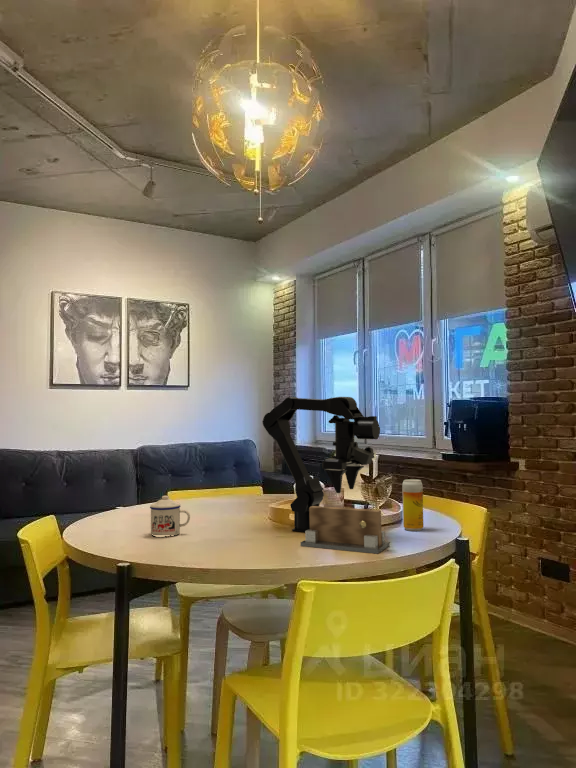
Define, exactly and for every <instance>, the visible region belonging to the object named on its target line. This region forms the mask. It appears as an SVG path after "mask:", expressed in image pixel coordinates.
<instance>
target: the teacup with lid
mask: <svg viewBox="0 0 576 768" xmlns="http://www.w3.org/2000/svg"><path fill="white" fill-rule="evenodd" d="M180 508H181V504H180V503H179V502H177V501H174V500H173V499H170V497H169V496H168V495H162V496H161V499H159V500H157V501H156V502H154V503H151V504H150V507H149V509H150V535H151V534H153V535H177V534H179V533H181V528H182V527H186V526H187V525H188V524H189V523H190V520H191V514H190V512H189V511H188V510H186V509H180ZM181 513H184V514H186V515H187V520H186V521H185V522H184V523H181V522H180V521H181V520H180V519H181ZM179 535H180V534H179ZM177 536H178V535H177Z"/></svg>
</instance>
